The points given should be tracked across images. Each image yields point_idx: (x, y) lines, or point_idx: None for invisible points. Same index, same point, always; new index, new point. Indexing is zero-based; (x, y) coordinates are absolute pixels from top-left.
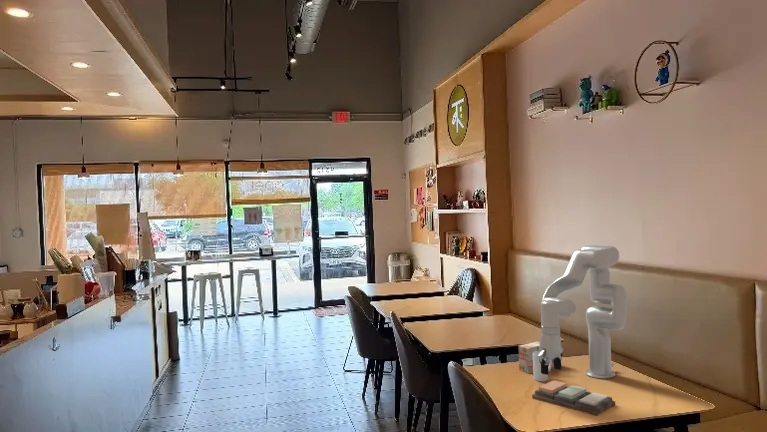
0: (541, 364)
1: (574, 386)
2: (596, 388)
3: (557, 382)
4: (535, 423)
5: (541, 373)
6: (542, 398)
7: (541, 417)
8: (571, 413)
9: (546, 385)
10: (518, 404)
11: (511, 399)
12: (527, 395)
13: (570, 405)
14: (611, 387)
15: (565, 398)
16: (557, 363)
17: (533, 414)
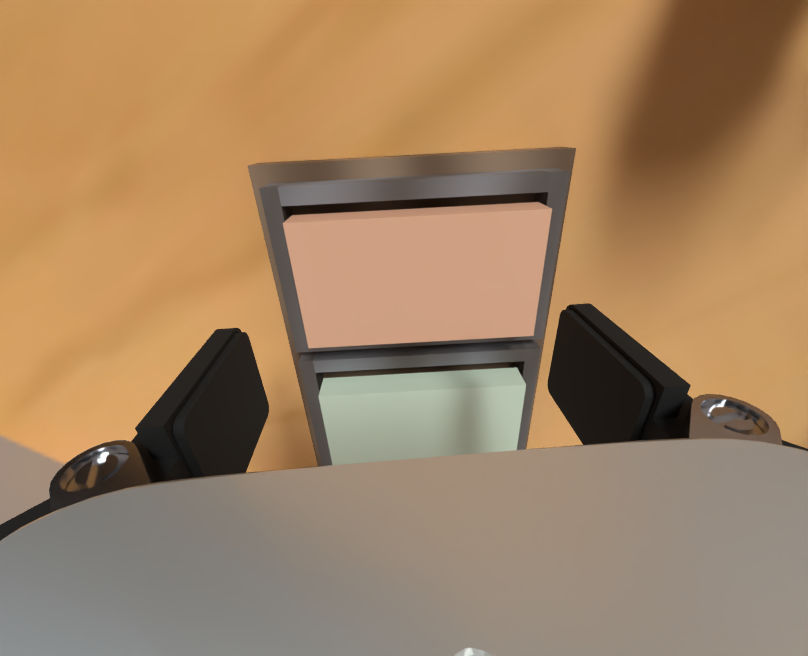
0: (149, 432)
1: (505, 405)
2: (720, 359)
3: (519, 271)
4: (5, 419)
5: (223, 332)
6: (273, 263)
7: (86, 397)
8: (268, 452)
9: (374, 249)
10: (61, 170)
11: (62, 28)
12: (272, 81)
13: (312, 437)
14: (771, 401)
15: (319, 424)
16: (593, 415)
17: (65, 350)
